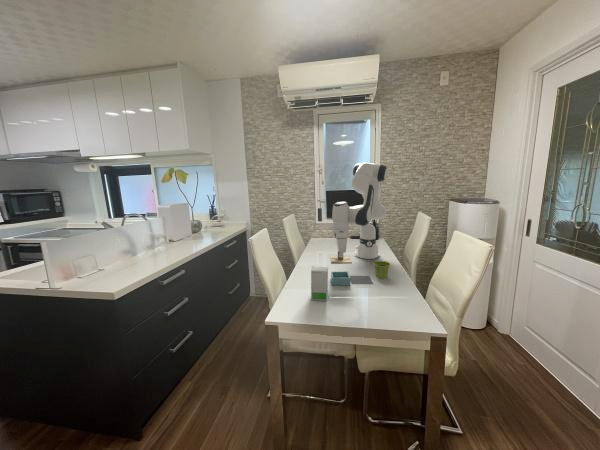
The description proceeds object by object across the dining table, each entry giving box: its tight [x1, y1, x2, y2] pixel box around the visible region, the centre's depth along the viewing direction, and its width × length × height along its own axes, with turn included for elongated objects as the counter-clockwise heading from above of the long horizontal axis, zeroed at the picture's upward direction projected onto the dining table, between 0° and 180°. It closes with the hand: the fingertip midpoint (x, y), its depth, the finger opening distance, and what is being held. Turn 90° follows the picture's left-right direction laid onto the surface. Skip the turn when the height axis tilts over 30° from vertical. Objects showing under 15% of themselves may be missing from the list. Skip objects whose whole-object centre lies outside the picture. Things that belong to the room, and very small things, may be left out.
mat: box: [350, 275, 374, 285], centre depth 145 cm, size 12×12×1 cm
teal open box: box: [330, 270, 351, 287], centre depth 143 cm, size 10×10×5 cm
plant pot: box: [373, 260, 391, 279], centre depth 148 cm, size 9×9×9 cm
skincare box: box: [310, 265, 329, 302], centre depth 125 cm, size 8×7×16 cm
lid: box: [329, 251, 353, 265], centre depth 140 cm, size 11×11×5 cm
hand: (340, 255), depth 140 cm, fingers closed on lid, 3 cm apart
